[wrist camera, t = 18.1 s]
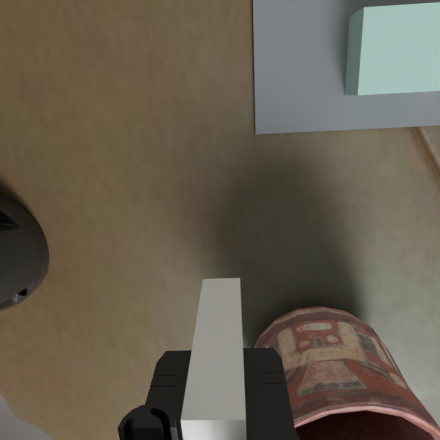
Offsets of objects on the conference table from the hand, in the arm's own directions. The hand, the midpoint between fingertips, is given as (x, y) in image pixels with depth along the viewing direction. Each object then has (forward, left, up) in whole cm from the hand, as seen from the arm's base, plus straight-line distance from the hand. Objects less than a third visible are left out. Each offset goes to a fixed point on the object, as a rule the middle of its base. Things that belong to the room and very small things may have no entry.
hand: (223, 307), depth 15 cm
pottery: (+10, -24, -27) cm, 37 cm away
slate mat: (+13, +12, -26) cm, 32 cm away
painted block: (+12, +11, -24) cm, 29 cm away
